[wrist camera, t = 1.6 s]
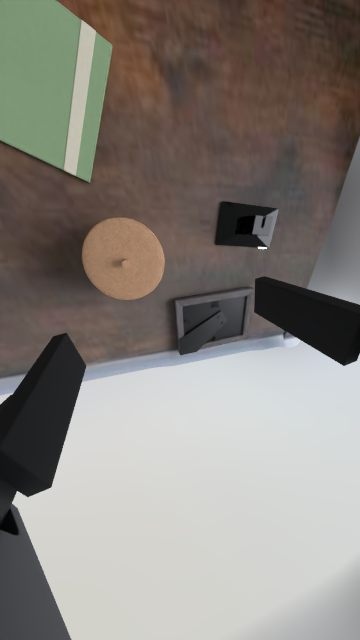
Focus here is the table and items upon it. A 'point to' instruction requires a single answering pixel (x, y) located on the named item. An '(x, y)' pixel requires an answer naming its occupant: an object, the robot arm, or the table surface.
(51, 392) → the robot arm
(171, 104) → the table surface
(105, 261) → the trinket box
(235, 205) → the black mounting bracket
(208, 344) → the picture frame
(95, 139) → the towel
